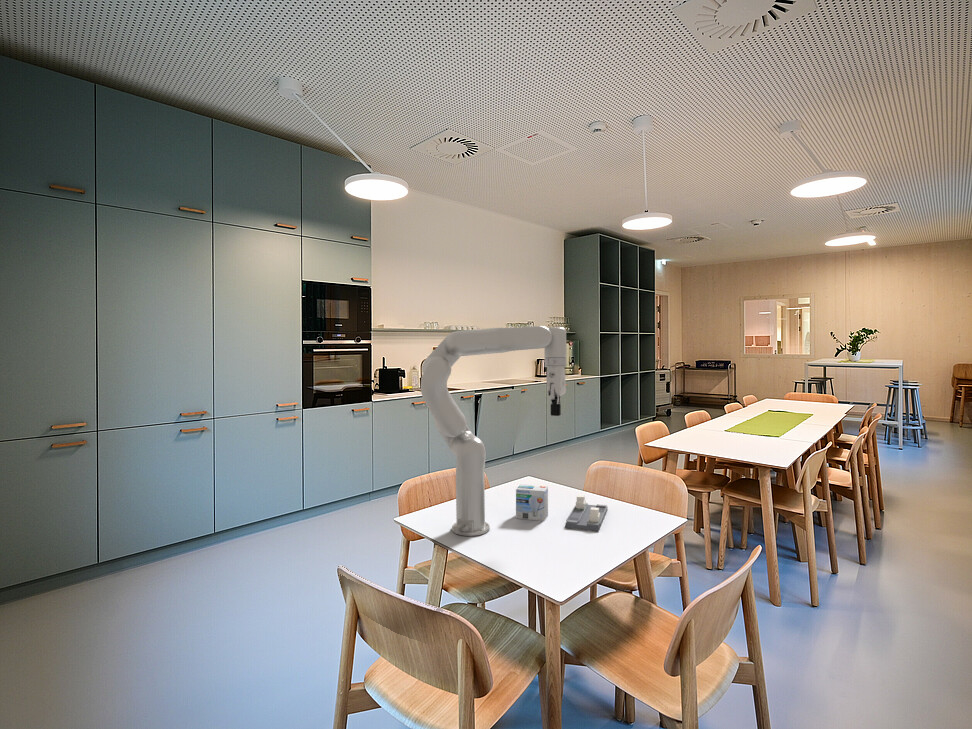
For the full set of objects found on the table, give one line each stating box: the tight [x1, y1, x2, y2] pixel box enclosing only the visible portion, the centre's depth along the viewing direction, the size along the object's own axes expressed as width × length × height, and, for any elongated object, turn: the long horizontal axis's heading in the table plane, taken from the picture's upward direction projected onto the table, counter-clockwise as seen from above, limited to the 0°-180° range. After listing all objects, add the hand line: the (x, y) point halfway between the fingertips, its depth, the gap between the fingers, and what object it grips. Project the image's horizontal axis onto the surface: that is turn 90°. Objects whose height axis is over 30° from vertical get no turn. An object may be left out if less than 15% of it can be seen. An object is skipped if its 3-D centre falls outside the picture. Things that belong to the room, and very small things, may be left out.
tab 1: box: [575, 494, 587, 509], centre depth 184 cm, size 4×3×4 cm
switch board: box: [565, 502, 609, 533], centre depth 177 cm, size 23×11×2 cm, turn 159°
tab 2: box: [589, 507, 600, 523], centre depth 170 cm, size 4×3×4 cm
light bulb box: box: [515, 484, 549, 522], centre depth 180 cm, size 11×7×11 cm, turn 73°
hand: (555, 415), depth 175 cm, fingers closed
